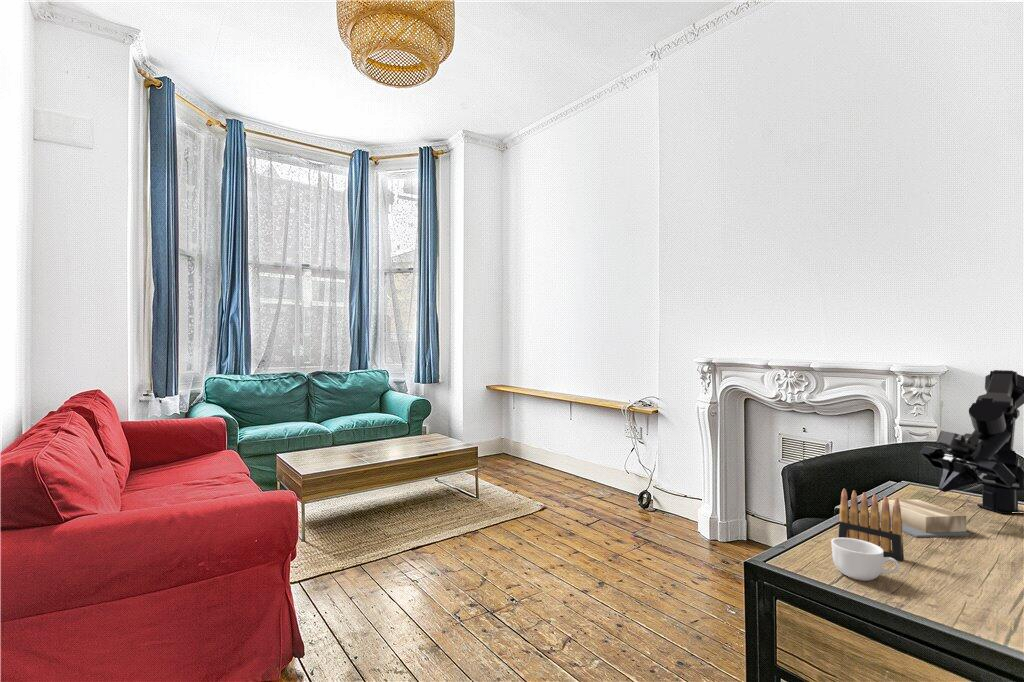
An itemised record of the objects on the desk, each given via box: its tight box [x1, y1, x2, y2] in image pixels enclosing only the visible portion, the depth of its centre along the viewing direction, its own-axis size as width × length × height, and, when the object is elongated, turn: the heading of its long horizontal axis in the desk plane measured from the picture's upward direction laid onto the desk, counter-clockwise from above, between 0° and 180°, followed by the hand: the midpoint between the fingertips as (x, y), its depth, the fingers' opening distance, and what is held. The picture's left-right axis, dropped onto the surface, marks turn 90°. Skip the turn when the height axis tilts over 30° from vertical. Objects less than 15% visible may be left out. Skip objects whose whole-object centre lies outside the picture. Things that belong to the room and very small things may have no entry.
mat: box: [869, 511, 971, 538], centre depth 116 cm, size 13×15×1 cm
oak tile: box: [879, 499, 967, 533], centre depth 116 cm, size 4×12×10 cm
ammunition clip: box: [837, 488, 905, 563], centre depth 100 cm, size 11×2×12 cm, turn 43°
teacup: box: [830, 537, 900, 582], centre depth 89 cm, size 10×8×5 cm
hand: (941, 490), depth 117 cm, fingers closed
